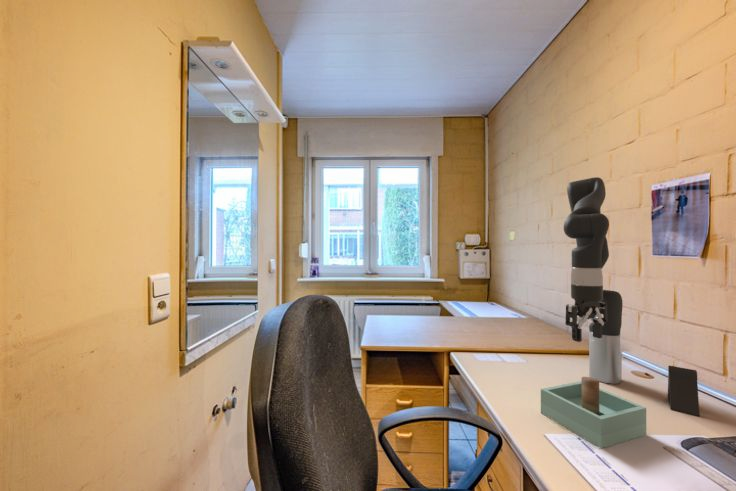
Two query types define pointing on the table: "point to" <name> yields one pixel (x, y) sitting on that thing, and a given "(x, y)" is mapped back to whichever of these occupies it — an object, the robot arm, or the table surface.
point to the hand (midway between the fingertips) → (587, 339)
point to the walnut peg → (590, 394)
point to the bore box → (594, 415)
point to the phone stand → (683, 390)
